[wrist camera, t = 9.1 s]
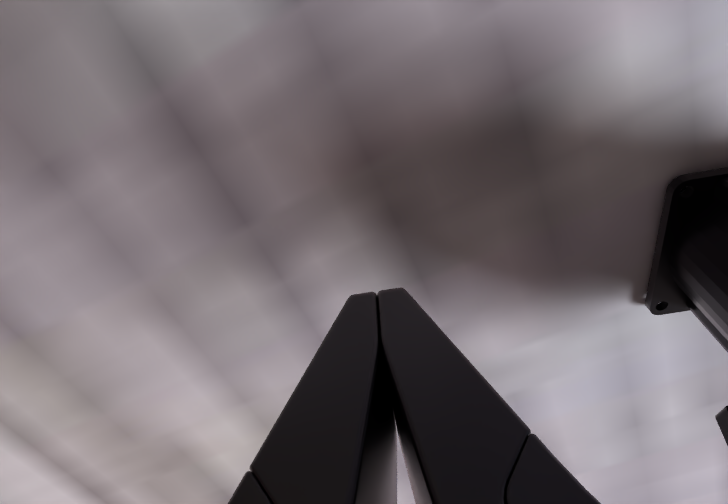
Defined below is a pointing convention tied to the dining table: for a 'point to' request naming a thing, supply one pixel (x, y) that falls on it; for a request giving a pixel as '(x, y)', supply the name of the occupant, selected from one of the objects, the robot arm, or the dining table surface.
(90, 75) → the dining table surface
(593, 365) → the dining table surface
